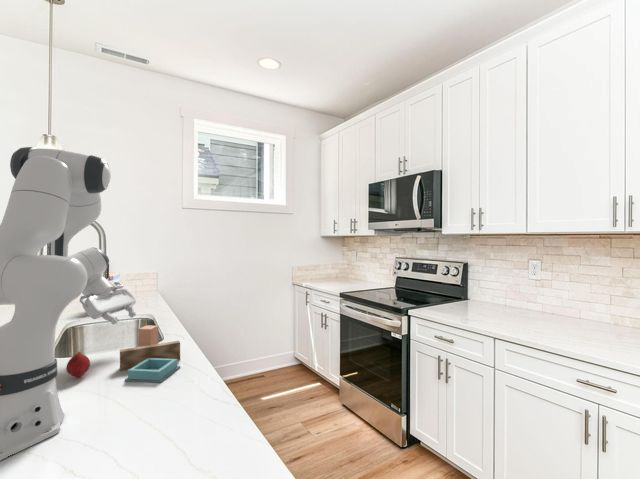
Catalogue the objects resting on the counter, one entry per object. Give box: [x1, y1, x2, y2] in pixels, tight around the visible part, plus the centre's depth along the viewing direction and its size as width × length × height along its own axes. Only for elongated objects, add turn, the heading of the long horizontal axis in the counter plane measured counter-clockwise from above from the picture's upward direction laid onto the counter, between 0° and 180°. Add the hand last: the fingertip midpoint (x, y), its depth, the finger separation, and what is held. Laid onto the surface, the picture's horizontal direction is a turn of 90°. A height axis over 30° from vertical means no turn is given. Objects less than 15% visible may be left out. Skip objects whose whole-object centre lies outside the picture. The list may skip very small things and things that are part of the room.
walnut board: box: [119, 340, 181, 372], centre depth 113 cm, size 18×2×6 cm, turn 121°
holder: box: [124, 358, 181, 384], centre depth 104 cm, size 11×11×3 cm
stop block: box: [138, 324, 159, 347], centre depth 121 cm, size 5×5×10 cm
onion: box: [66, 350, 91, 379], centre depth 102 cm, size 6×6×8 cm
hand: (125, 319), depth 122 cm, fingers open, 8 cm apart
